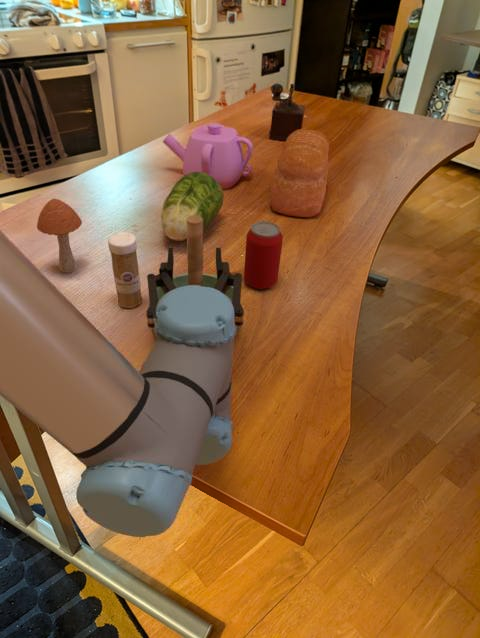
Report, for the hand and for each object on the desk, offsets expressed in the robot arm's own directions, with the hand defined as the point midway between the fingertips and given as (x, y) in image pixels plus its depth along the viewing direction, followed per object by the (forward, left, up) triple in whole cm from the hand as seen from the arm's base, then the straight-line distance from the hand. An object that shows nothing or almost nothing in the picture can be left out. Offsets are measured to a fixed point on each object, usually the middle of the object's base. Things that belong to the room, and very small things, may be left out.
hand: (194, 254), depth 77 cm
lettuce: (-1, +28, -12) cm, 30 cm away
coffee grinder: (+31, +91, -12) cm, 97 cm away
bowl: (0, -5, -11) cm, 13 cm away
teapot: (+4, +59, -12) cm, 60 cm away
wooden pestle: (0, -5, -11) cm, 12 cm away
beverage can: (+13, +8, -12) cm, 19 cm away
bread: (+28, +47, -12) cm, 56 cm away
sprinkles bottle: (-12, +2, -12) cm, 17 cm away
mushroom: (-25, +13, -12) cm, 31 cm away
